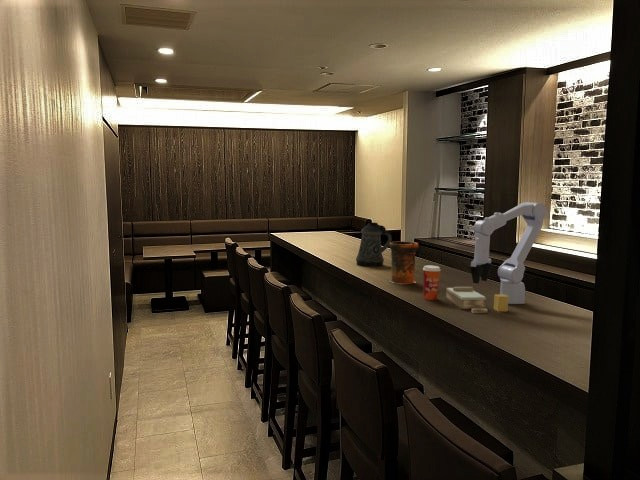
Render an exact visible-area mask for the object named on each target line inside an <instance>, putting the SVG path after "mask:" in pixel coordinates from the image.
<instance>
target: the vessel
mask: <svg viewBox="0 0 640 480" xmlns="http://www.w3.org/2000/svg"><path fill="white" fill-rule="evenodd" d="M389 248H390V253H391V254H390V256H391V268H390V269H391V279H390V280H389V281H388V283H392V284H397V285H409V284H416V283H417V282H416V281H415V267H416V254H417V250H418V249H419V243H418V242H414V241H404V240H403V241H391V243H390V244H389Z"/></svg>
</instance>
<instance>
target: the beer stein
mask: <svg viewBox="0 0 640 480" xmlns="http://www.w3.org/2000/svg"><path fill="white" fill-rule="evenodd" d="M360 231H361V237H360V238H361V240H360V244H359V249H358V253H357V256H356V257H355V258H356V259H355V261H356V265H357V266H359V267H360V266H361V267H367V268H369V267H370V268H377V267H382V266H384V260H385V258H384V256H383V252H384V251H386V250H387V249H388V248H389V247H390V245H389V244H390V243H391V242H392V234H391V233H392V232H390V231H388V230H387V229H386V227H385V226H384V225H380V224H378V222H368V224H366V225H365V226H364V227H363V228H362V229H361V230H360ZM381 236H386V237H387V240H386V242H385V244H384V245H383V246H382V238H381Z"/></svg>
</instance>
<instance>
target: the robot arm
mask: <svg viewBox="0 0 640 480" xmlns="http://www.w3.org/2000/svg"><path fill="white" fill-rule="evenodd" d="M547 214H548V211H547V207H546V205H545V204H544V203H542V202H531V201H523V202H522V203H519V204H518V205H516V206H515V207H514V206H513V208H511V209H509V210H507V211H506V212H503V213H502V212H494V213H493V215H491V216H489V217H487V216H486V217H484V219H483V220H481V219H479V220H477V221H476V222H475V223H474V225H473V226H472V230H473V232H474V237H475V239H474V242H475V243H474V253H473V254H474V256H473V260H472V261H471V262H470V264H469V265H468V269H469V271H470V275H471V278H472V283H473V284H479V283H480V281H482V282H487V281H488V278H489V275H490V272H491V270H492V268H493V267H494V264H493V263H492V258H490V245H491V244H490V242H491V235H492V234H493V233H494V231H495V230H497V229H499V228H502V227H503V226H505V225H507V221H508V222H509V221H511V220H512V219H515V218H517V217H519V216H521V217H522V219H523V220H524V222H525V223H526V228H525V230H524V232H523V233H522V236H521V238H520V239H519V241H518V243H517V244H516V247H515V249H514V250H513V252H512V254H511V256H510V257H509V258H507V259H505V260H504V261H503V263H502V264H501V265H500V266H499V267H498V269H497V276H498V277H499V280H500V286H499V287H500V289H499V290H500V291H499V294H504V295H506V296H508V305H525V304H526V302H525V296H526V295H525V294H526V287H525V283H524V282H522V280H523V278H524V273H525V271H526V267H525V264H524V262H525V261H526V259H527V256H528V254H529V253H530V251H531V249H532V247H533V245H534V243H535V241H536V240H537V237H539V234H540V233H541V230H542V228H543V224H544V220H545V218H546V216H547Z"/></svg>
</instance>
